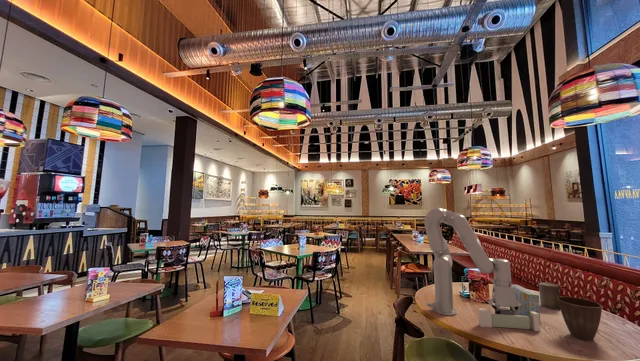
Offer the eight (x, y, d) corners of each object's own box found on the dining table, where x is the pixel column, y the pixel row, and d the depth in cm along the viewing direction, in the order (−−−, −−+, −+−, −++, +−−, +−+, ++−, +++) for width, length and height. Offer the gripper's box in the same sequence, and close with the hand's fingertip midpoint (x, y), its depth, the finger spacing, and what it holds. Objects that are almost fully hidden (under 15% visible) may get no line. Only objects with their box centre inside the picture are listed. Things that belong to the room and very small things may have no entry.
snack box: (542, 325, 134) (539, 295, 135) (529, 324, 135) (527, 294, 137) (519, 310, 154) (517, 284, 156) (509, 309, 155) (507, 283, 157)
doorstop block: (503, 322, 133) (502, 312, 134) (495, 317, 140) (494, 307, 140) (515, 323, 132) (515, 312, 133) (507, 317, 139) (506, 307, 140)
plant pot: (614, 343, 116) (610, 305, 118) (592, 347, 112) (588, 308, 114) (573, 328, 130) (570, 295, 132) (552, 332, 126) (549, 297, 128)
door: (492, 326, 131) (491, 314, 131) (491, 325, 132) (490, 312, 133) (533, 329, 128) (532, 316, 129) (531, 328, 130) (529, 315, 130)
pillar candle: (566, 310, 155) (563, 284, 157) (549, 309, 155) (546, 283, 157) (551, 304, 165) (549, 280, 167) (536, 304, 165) (534, 279, 167)
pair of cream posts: (481, 327, 131) (480, 310, 132) (478, 324, 134) (478, 308, 135) (540, 331, 127) (539, 314, 128) (536, 328, 130) (534, 311, 131)
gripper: (488, 284, 136) (491, 320, 134) (525, 286, 133) (528, 323, 131) (482, 280, 143) (484, 314, 141) (516, 282, 141) (519, 317, 139)
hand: (505, 318), depth 136 cm, fingers closed on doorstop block, 6 cm apart
